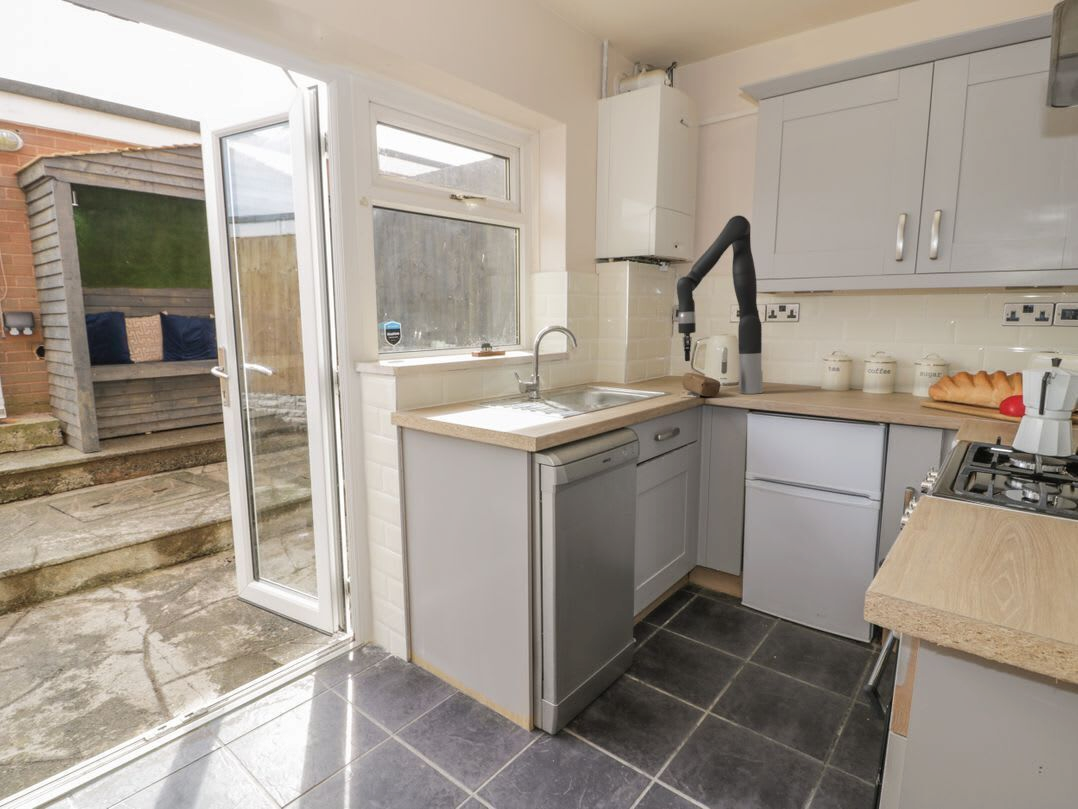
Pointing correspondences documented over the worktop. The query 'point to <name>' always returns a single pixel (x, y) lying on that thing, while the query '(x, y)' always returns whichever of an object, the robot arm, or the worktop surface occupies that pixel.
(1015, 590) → the worktop surface
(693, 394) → the slate board
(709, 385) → the block
